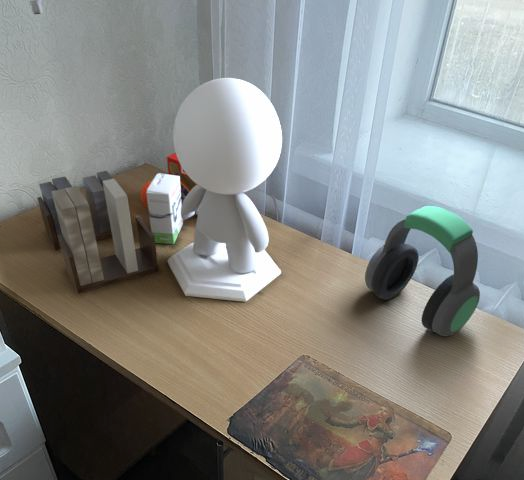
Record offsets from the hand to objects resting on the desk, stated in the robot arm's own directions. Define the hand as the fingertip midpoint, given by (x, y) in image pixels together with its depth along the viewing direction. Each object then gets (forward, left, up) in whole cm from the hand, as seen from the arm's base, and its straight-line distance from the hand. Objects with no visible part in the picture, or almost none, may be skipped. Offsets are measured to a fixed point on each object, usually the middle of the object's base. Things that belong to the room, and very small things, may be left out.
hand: (9, 15), depth 92 cm
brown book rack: (+4, -24, -39) cm, 46 cm away
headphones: (+50, -61, -39) cm, 88 cm away
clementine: (+21, -5, -39) cm, 45 cm away
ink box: (+19, -16, -39) cm, 46 cm away
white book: (+7, -24, -38) cm, 46 cm away
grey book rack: (+4, -8, -39) cm, 40 cm away
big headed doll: (+24, -33, -39) cm, 57 cm away
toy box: (+30, -12, -39) cm, 51 cm away
